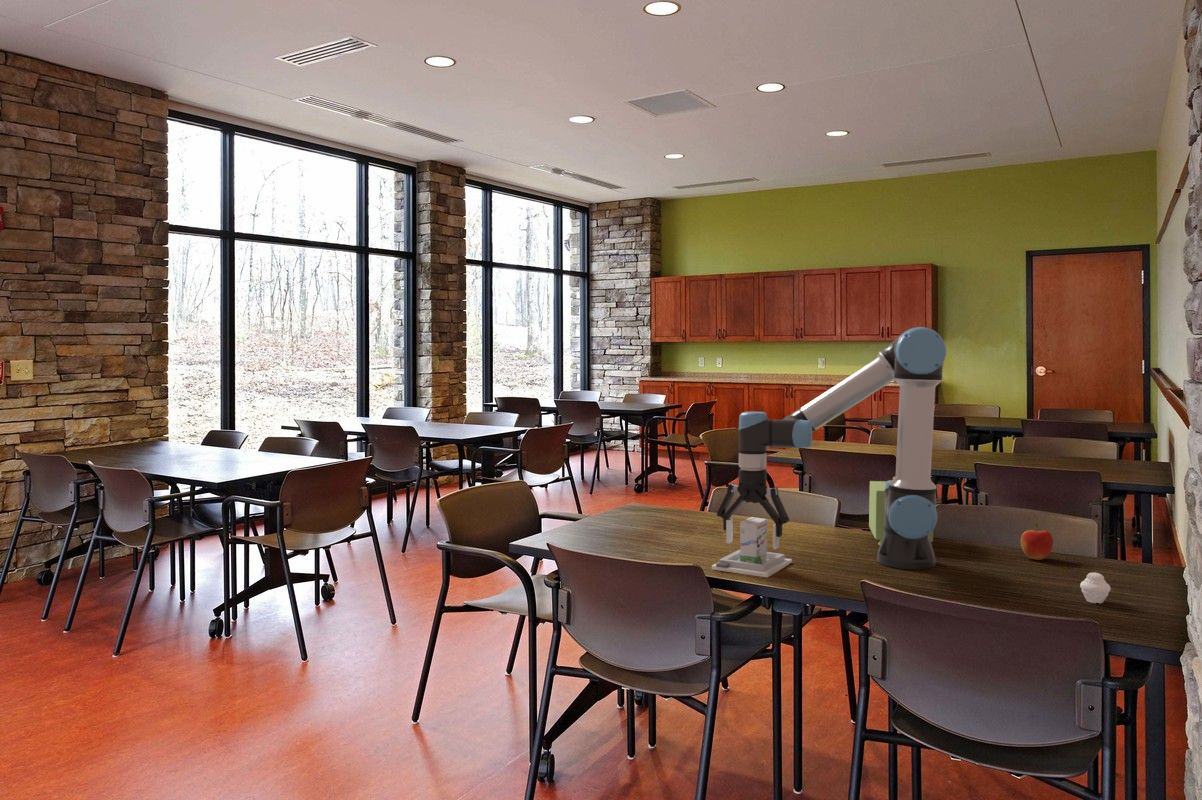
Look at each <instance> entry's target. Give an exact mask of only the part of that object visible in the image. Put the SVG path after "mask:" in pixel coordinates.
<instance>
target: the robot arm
mask: <svg viewBox="0 0 1202 800" xmlns="http://www.w3.org/2000/svg"><path fill="white" fill-rule="evenodd" d="M946 355H947V347H946V343H945V341H944V339H943V337H942V336H941V335H940V334H939V332H937V331H936V330H934V329H932V328H929V327H927V326H926V327H923V326H917V327H915V326H913V327H912V328H909V329H907V330H904V331H903V332H902V333H900V335H899V336H897V337H896V338H895V339H894V340H893V341H892V342H891V343H890V344H888V345H887V346H886V347H885V348H883V349H882V350H880V351H879V352H878V354H877V357H876V358H874V359H873V360H871V361H870V362H868V363H867V364H866V365H864V366H862V367H860V368H859V369H858V370H856V371H855V372H853V373H851V374H850V375H848V376H846V378H843V380H841V381H839V382H838V383H836V384H835V385H833V386H832V387H830V388H829V389H827V390H826V391H824V392H822V394H820V395H819V396H817V397H815V398H813V399H812V400H811V401H809V402H807V403H806V404H805V405H803V406H802V407H801V406H800V408H799V409H797V410H795V411H793V412H792V413H791V414H789V415H786V416H785V417H783V419H770V418H768V415H767V413H766V412H765V411H744V412H741V413H740V414H739V418H738V419H739V420H738V428H737V429H738V467H739V469H738V485H737V484H735V483H731V484H728V485H727V488H726V489H727V490H726V493H725V496H724V497H723V500H722V502H721V504H720V506H719V508H718V510H717V512H716V516H717V517H720V518H722V521H723V522H722V525H723V526H722V527H723V531H725V532H726V533H725V536H726V537H725V543H726V544H731V543H733V542H734V541H733V540H734V539H733V538H734V536H733V534H734V533H733V532H734V526H733V525H734V518H731V517H732V515H733V514H735V512H736V510H738V509H739V507H740V506H741V505H742V504H743V503H744V502H745V503H753V504H759V505H760V506H762V507H763V509H764V510H765V511H766V513H767V514H768V516H769V517H770V518H771V520H772V521H773V522H774V524H773V525H772V550H777V549H778V548H780V537H782V536H783V525H784V524H787V523H789V522H790V517H789V516H788V513H787V511H786V509H785V507H784V504H783V503H782V500H781V497H780V496H779V488H778V487H776V486H774V487H771V488H770V487H769V488H768V486H767V481H768V480H767V475H768V474H767V469H766V468H767V462H768V461H767V453H768V450H767V448H785V449H786V448H791V449H797V450H798V449H808V448H811V447H812V443H813V433H814V432H815V431H816V430H818V429H820V428H822V427H823V426H825V425H827V424H828V423H830V421H832V420H834V419H835V418H837V417H839V416H841V414H843V413H845V412H847V411H848V410H849V409H851V408H853V407H854V406H856V405H858V404H859V403H860V402H862V401H864V400H865V399H867V398H868V397H869V396H872V395H873V394H875V393H876V392H878V391H879V390H881V389H882V388H884V387H886V386H887V385H888V384H890V383H892V382H893V381H895V382H896V383H897V384H898V385H899V397H898V398H899V399H898V401H899V402H898V415H897V416H898V417H897V418H898V420H897V437H896V438H897V441H896V457H895V458H896V460H895V461H896V462H895V476H894V477H895V478H894V479H893V478H892V480H891V479H890V480H889V479H888V480H887V482H886V484H885V489H884V492H885V524H884V536H883V539H882V542H881V545H879V548H878V551H877V556H876V557H877V559H876V560H877V562H878V563H879V564H881V565H883V566H886V567H890V568H893V569H894V568H896V569H902V570H903V569H904V570H924V569H925V570H927V569H932V568H934V567H935V566H936V555H935V552H934V549H933V545H932V542H930V539H929V533H931V532H932V530H933V531H934V529H935V528H936V526H937V522H938V510H937V509H936V505H937V485H936V484H935V483H934V482H933V481H932V479H931V478H932V477H931V475H932V461H933V460H932V456H933V455H932V454H933V437H934V420H935V419H934V418H935V417H934V416H935V401H936V400H935V399H936V387H937V386H938V385H940V383H941V382H943V370H944V367H943V366H944V361H945V359H946ZM736 492H738V493H739V496H738V497H737V498H736V500H735V501H734V503H733V504H732V505H731V506H730V507H729V505H730V503H731V501H732V499H733V497H734V495H735V493H736ZM767 494H768V495H769V496H770V497H771V501H772V503H773V505H774V506H773V505H772V504H771V503H770V501H769V499H768V498H767V496H766V495H767ZM728 507H729V508H728ZM774 507H775V509H774ZM727 509H728V510H727Z"/></svg>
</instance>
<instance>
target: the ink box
mask: <svg viewBox="0 0 1202 800" xmlns="http://www.w3.org/2000/svg"><path fill="white" fill-rule="evenodd" d="M739 536H740V538H739V540H740V541H739V544H740V545H739V546H740V547H739V548H740V549H739V550H740V561H742V562H749V563H757V564H761V563H763V562H765V561H766V560H767V552H768V519H767V518H760V517H754V516H751V517H748V518H746V519H743V520H741V522H740V523H739Z"/></svg>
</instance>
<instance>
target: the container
mask: <svg viewBox="0 0 1202 800" xmlns="http://www.w3.org/2000/svg"><path fill="white" fill-rule="evenodd" d="M895 477H896V476H893V477H892V480H893V479H894V478H895ZM887 481H888V480H887ZM887 481H886V480H885V481H884V480H882V481H881V480H880V481H879V480H877V481H876V480H870V481H869V497H868V499H869V501H868V502H869V503H868V515H869V516H868V520H869V521H868V527H869V529H870V532H871V534H872V535H873V538H874V539H875V540H876V541H878V543H877V544H878V545H879V546H880V545H881V542H882V539H883V536H884V524H885V492H884V489H885V484H886V482H887ZM929 539H930V542H931V543H934V529H933V530H932V532H931V533H929Z"/></svg>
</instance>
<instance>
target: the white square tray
mask: <svg viewBox="0 0 1202 800" xmlns="http://www.w3.org/2000/svg"><path fill="white" fill-rule="evenodd" d="M790 563H791V564H792V563H793V558H786V554H785V553H779V552H771V551H767V560H766V561H765V562H763V563H761V564H757V563H749V562H742V561H740V549H738V550H736V551H733V552H731V553H729V554H727V555H726V556H724V557H722V558H720V559H718V562H716V563H714V564H712V565H711V570H714V571H720V572H728V573H735V574H740V575H748V576H754V577H762V578H769V577H770V576H772V575H774V574H775V573H777V572H779V571H780V570H782V569H784V568H785V567H787V566H789V565H790Z"/></svg>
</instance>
